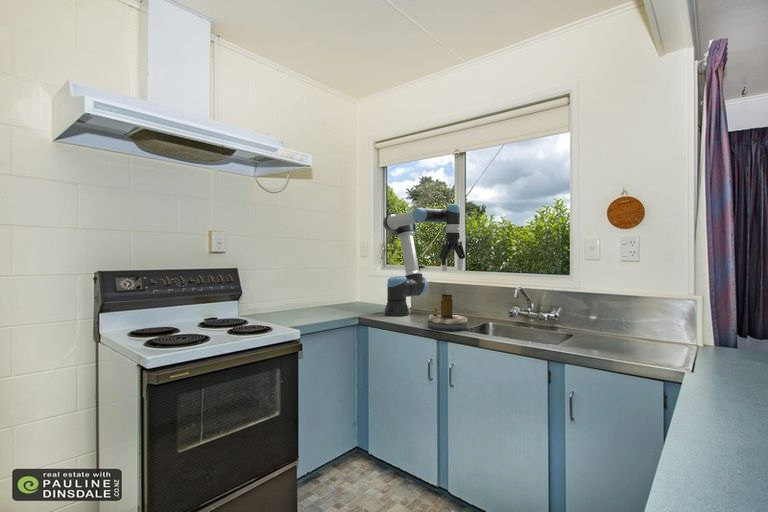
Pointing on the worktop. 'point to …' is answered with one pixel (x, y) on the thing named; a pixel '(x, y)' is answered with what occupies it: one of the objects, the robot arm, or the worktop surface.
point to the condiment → (447, 306)
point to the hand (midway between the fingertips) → (452, 270)
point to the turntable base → (447, 326)
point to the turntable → (436, 318)
